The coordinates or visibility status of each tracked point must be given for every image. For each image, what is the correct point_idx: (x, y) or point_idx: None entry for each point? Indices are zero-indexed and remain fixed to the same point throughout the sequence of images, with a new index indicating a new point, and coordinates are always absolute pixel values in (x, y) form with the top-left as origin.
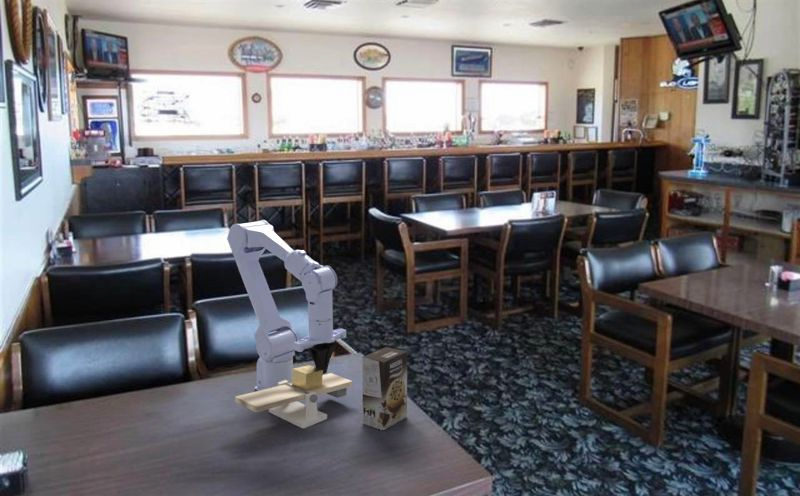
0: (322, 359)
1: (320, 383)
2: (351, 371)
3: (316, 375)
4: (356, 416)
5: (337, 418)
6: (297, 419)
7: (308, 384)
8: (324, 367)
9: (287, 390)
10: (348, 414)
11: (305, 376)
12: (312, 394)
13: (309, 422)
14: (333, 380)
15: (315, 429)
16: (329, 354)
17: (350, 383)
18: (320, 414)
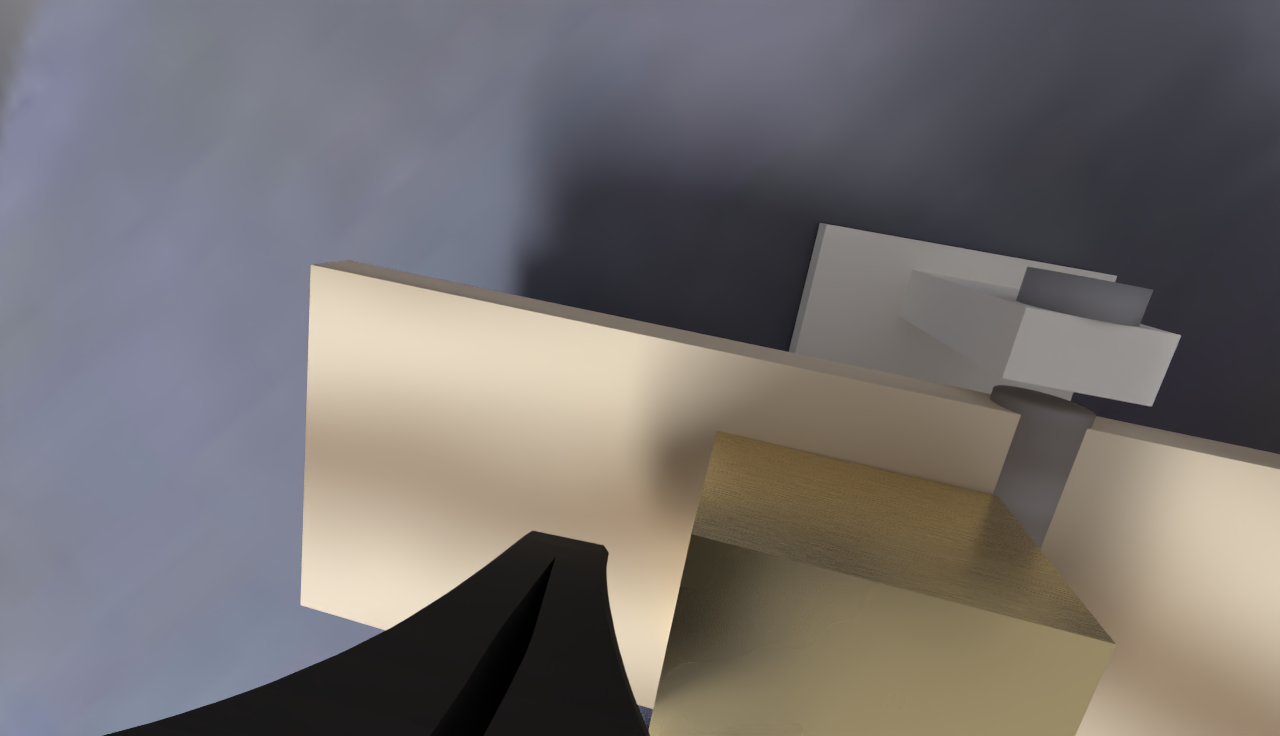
0: (614, 710)
1: (743, 453)
2: (23, 607)
3: (833, 535)
4: (639, 21)
5: (765, 148)
6: (1043, 386)
7: (970, 518)
8: (565, 585)
9: (1120, 670)
10: (645, 116)
11: (1083, 623)
12: (1113, 320)
13: (1038, 262)
14: (451, 453)
15: (1053, 171)
16: (370, 708)
17: (355, 271)
18: (853, 278)
